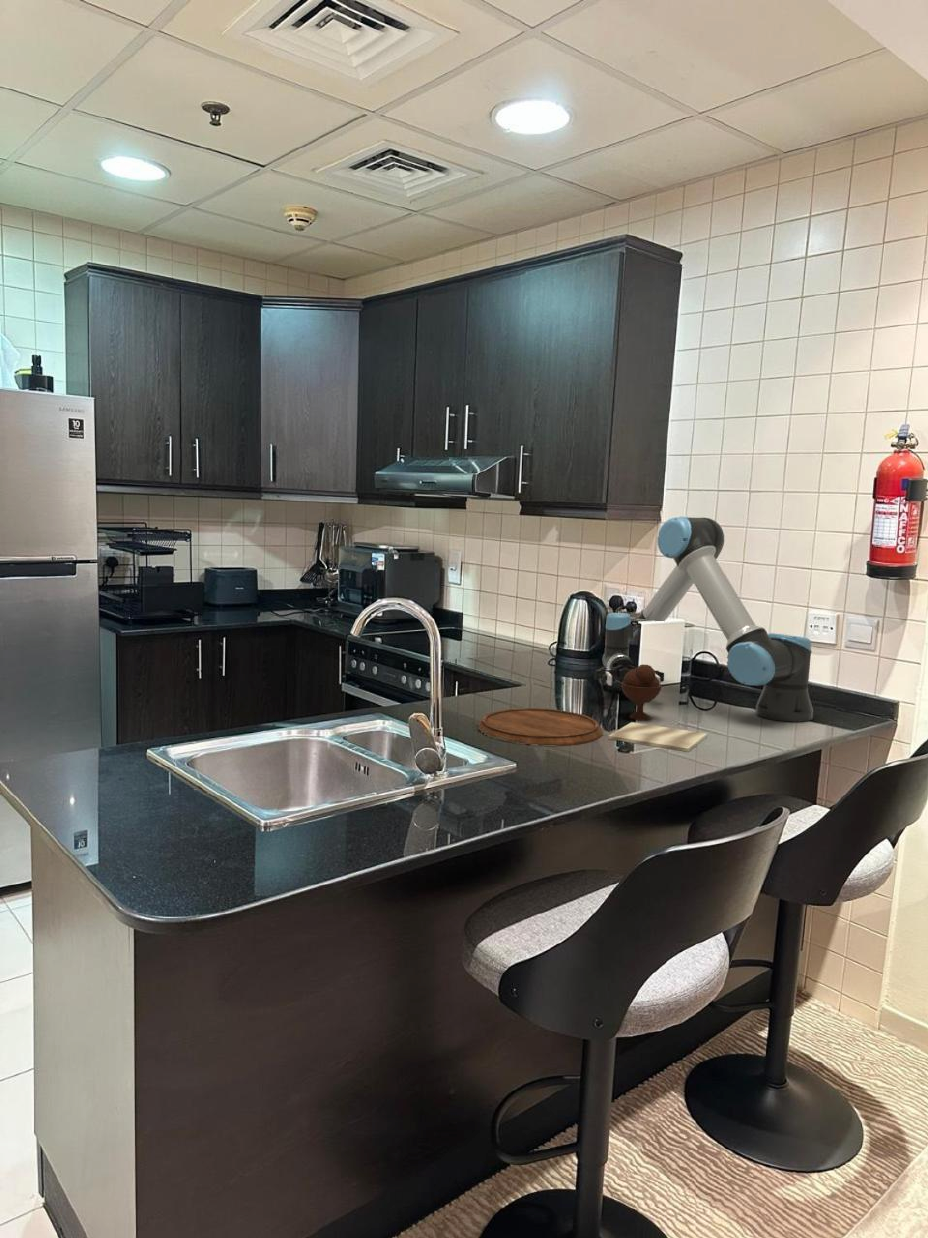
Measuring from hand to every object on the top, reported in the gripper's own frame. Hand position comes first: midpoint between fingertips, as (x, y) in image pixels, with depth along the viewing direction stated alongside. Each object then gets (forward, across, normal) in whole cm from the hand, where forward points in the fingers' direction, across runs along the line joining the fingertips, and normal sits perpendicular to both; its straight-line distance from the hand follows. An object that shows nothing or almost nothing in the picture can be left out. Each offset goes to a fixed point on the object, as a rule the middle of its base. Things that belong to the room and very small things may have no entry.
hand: (634, 681), depth 246 cm
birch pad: (+30, -1, -8) cm, 31 cm away
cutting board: (+24, +28, -9) cm, 39 cm away
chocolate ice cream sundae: (+9, 0, -9) cm, 12 cm away
